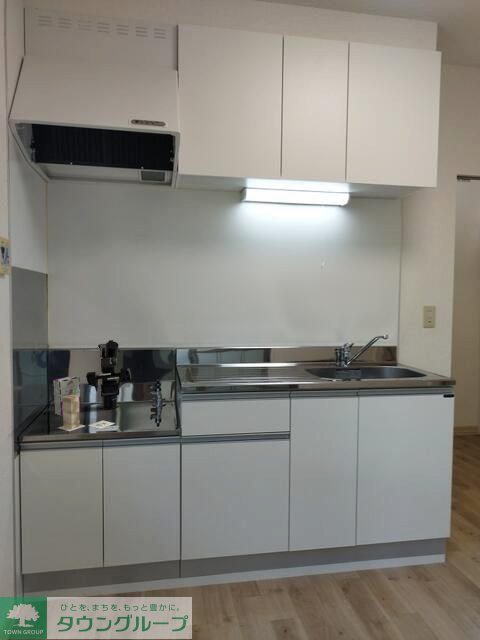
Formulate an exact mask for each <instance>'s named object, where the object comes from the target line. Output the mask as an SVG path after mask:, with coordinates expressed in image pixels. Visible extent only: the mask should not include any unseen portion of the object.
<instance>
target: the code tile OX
mask: <svg viewBox="0 0 480 640" xmlns="http://www.w3.org/2000/svg"><path fill="white" fill-rule="evenodd" d="M115 424H116V423H115V422H111V421H107V420H100V421H97V422H94V423H91V424H88V427H93V428H97V429H100V430H101V429H104V428H107V427H109V426H112V425H115Z"/></svg>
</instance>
